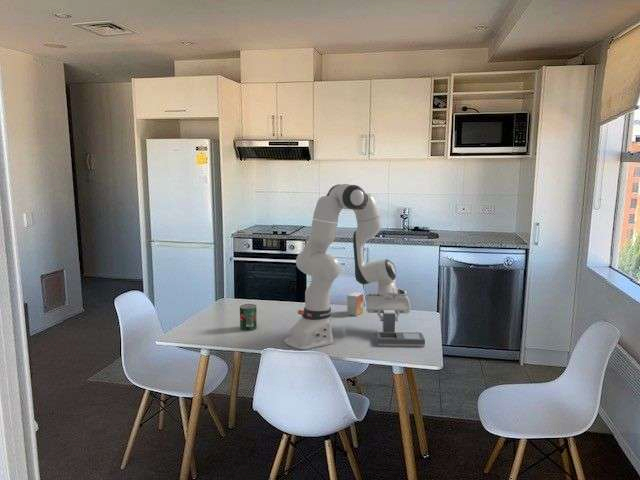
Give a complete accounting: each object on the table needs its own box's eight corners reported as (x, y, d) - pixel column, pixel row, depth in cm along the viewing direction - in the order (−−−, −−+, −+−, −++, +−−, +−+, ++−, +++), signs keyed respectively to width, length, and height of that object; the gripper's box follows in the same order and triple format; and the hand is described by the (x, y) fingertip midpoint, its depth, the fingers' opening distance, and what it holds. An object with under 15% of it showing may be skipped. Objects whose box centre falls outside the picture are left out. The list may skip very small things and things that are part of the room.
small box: (356, 316, 251) (356, 296, 249) (346, 314, 254) (347, 295, 252) (363, 312, 258) (363, 293, 256) (354, 310, 261) (354, 291, 259)
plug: (383, 333, 220) (384, 312, 219) (382, 330, 225) (383, 309, 224) (394, 334, 220) (395, 312, 219) (393, 330, 225) (394, 309, 224)
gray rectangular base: (377, 346, 208) (377, 339, 208) (375, 339, 217) (376, 332, 217) (424, 347, 208) (425, 339, 207) (421, 340, 217) (421, 332, 216)
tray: (378, 338, 218) (379, 337, 218) (377, 331, 228) (377, 330, 228) (401, 339, 218) (401, 337, 218) (398, 331, 228) (398, 330, 228)
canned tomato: (236, 328, 231) (236, 306, 230) (249, 324, 237) (249, 302, 235) (247, 332, 226) (246, 309, 224) (260, 328, 232) (259, 306, 230)
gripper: (365, 290, 227) (366, 317, 219) (409, 291, 227) (412, 318, 218) (364, 297, 232) (365, 323, 224) (408, 298, 232) (410, 324, 224)
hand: (389, 320), depth 221 cm, fingers closed on plug, 5 cm apart
